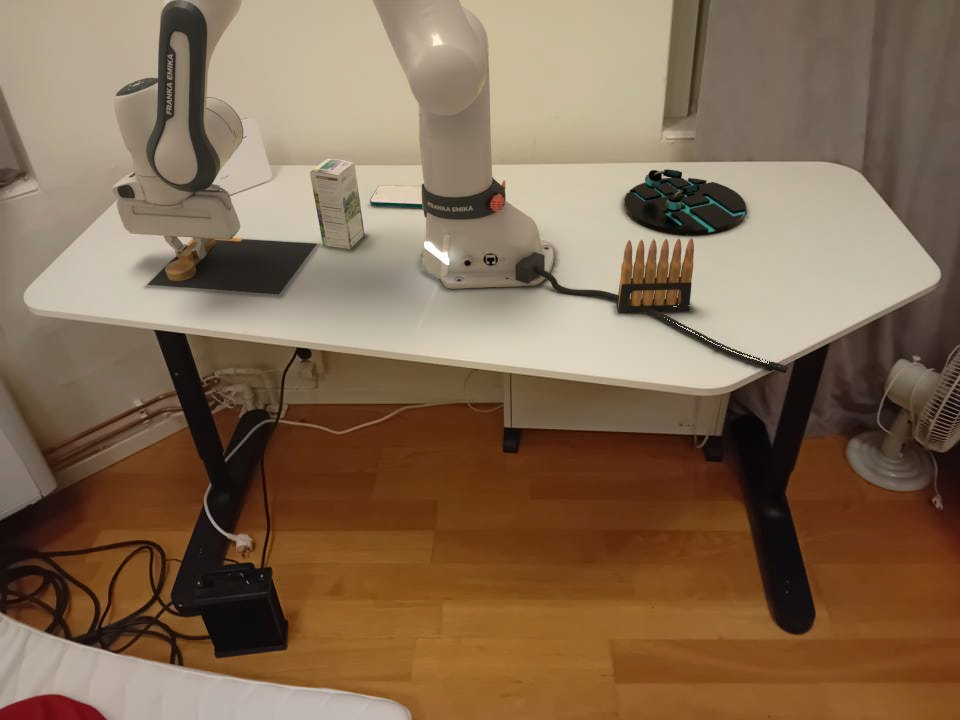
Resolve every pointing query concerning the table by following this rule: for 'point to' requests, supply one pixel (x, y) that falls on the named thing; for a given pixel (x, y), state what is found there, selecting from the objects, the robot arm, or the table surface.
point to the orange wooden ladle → (186, 263)
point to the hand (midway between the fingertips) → (192, 256)
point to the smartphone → (397, 196)
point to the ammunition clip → (656, 279)
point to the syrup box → (337, 203)
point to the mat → (244, 266)
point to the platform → (683, 205)
